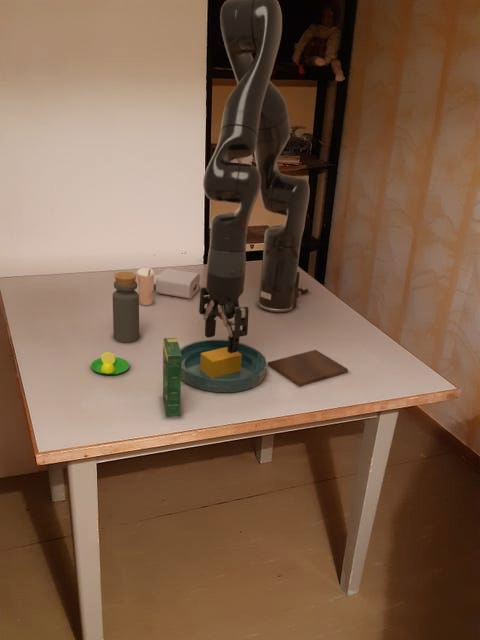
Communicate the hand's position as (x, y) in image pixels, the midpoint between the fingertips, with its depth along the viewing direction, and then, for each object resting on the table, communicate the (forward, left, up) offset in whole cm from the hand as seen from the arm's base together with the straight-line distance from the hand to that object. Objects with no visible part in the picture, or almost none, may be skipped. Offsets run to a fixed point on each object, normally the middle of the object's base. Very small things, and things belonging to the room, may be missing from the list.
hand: (220, 344), depth 140 cm
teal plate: (0, 0, -7) cm, 7 cm away
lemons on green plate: (+20, -12, -7) cm, 24 cm away
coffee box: (+17, +8, -7) cm, 20 cm away
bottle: (+10, -24, -7) cm, 27 cm away
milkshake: (-4, -40, -7) cm, 41 cm away
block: (0, 0, -6) cm, 6 cm away
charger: (-14, -46, -7) cm, 49 cm away
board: (-18, +8, -7) cm, 21 cm away
